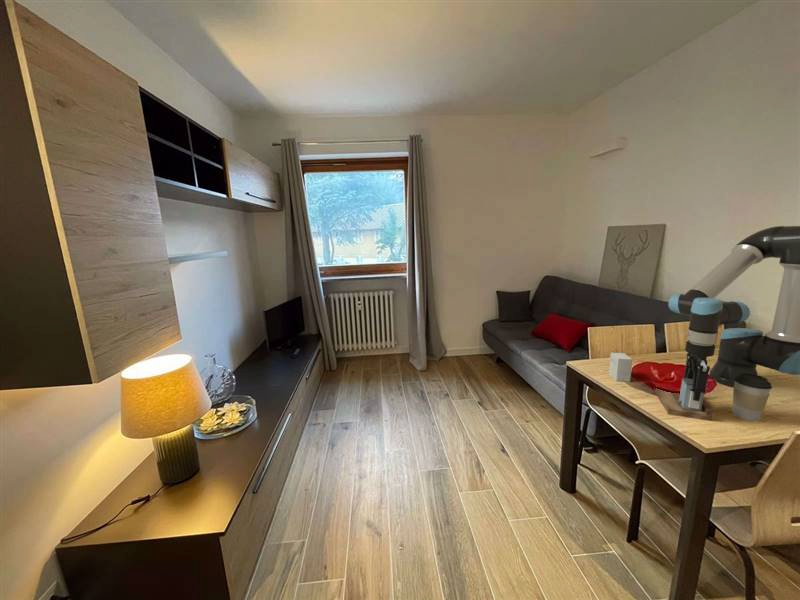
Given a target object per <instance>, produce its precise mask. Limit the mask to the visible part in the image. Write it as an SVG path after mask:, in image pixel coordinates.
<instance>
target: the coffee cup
mask: <svg viewBox="0 0 800 600" xmlns="http://www.w3.org/2000/svg"><path fill="white" fill-rule="evenodd" d="M734 381H735V383H734V387H732V388H733V390H732V391H733V392H732V415H733V416H735V417H736V418H738V419H741V420H744V421H747V420H748V421H747V422H754V421H757V422H760V421H759V420H761V418H762V416H763V412H764V410H765V408H766V405H767V403H768V399H769V397H770V391H771V389H772V388H773V387H772V383H771V382H770V381H769V380H768V378H766V377H763V376H761V375H759V374H758V375H754V374H747V373H743V374H742V373H740V374H739V375H738V376H736V377H735V378H734Z"/></svg>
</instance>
